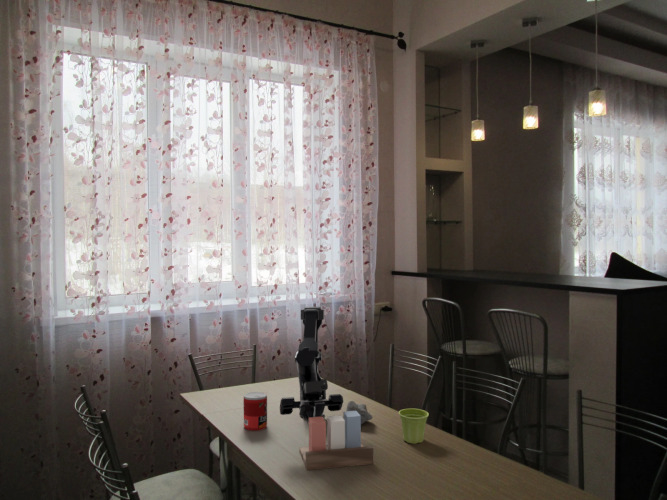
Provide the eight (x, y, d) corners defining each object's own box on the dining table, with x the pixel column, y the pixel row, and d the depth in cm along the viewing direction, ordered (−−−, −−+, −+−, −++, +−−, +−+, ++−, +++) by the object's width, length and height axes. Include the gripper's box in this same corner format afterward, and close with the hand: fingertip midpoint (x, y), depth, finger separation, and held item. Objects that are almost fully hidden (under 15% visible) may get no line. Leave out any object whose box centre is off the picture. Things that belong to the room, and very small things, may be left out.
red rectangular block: (308, 451, 155) (308, 417, 155) (322, 450, 156) (322, 416, 156) (311, 458, 150) (311, 423, 150) (325, 457, 151) (325, 422, 151)
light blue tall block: (343, 444, 160) (343, 411, 160) (356, 443, 161) (356, 410, 161) (347, 451, 156) (347, 416, 155) (360, 450, 156) (360, 415, 156)
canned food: (263, 431, 177) (262, 398, 177) (240, 430, 179) (239, 397, 178) (270, 424, 185) (270, 392, 184) (248, 422, 186) (248, 391, 186)
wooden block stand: (299, 452, 160) (299, 437, 160) (361, 446, 164) (361, 432, 164) (306, 470, 147) (306, 453, 147) (373, 463, 151) (373, 447, 151)
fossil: (379, 425, 183) (379, 401, 183) (359, 430, 178) (358, 406, 178) (358, 416, 192) (358, 394, 192) (338, 421, 187) (338, 398, 187)
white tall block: (327, 450, 156) (327, 416, 156) (340, 449, 157) (340, 415, 157) (331, 456, 151) (330, 421, 151) (344, 455, 152) (344, 420, 152)
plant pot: (430, 437, 172) (430, 410, 172) (426, 447, 163) (426, 419, 163) (401, 433, 175) (401, 407, 175) (395, 443, 166) (395, 416, 166)
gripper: (280, 370, 159) (285, 420, 148) (341, 367, 163) (351, 415, 152) (277, 390, 167) (282, 438, 156) (336, 386, 171) (344, 433, 160)
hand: (315, 430), depth 156 cm, fingers closed, pressing on red rectangular block
